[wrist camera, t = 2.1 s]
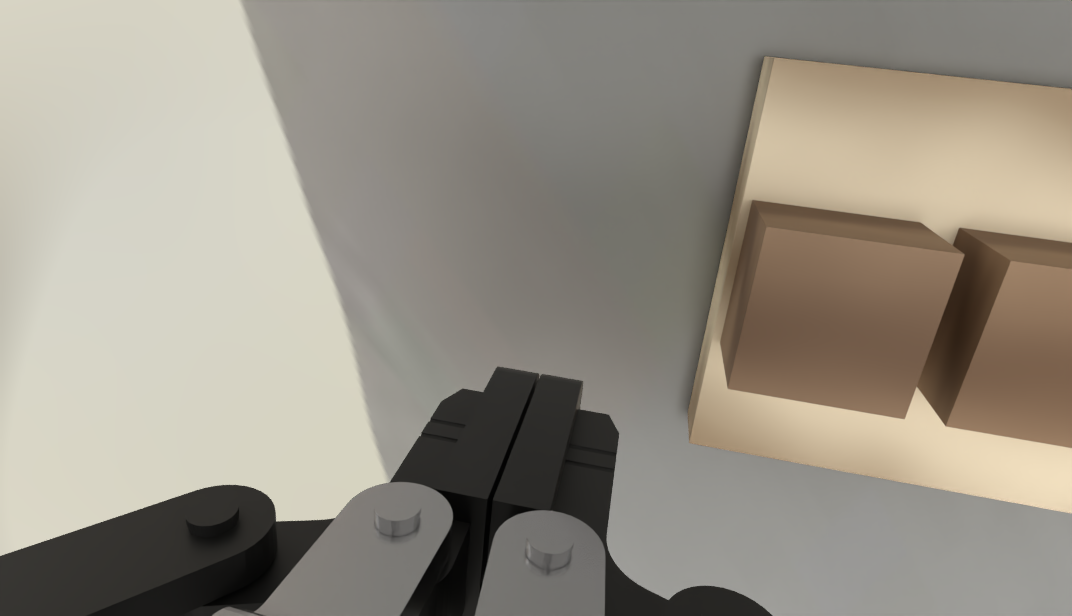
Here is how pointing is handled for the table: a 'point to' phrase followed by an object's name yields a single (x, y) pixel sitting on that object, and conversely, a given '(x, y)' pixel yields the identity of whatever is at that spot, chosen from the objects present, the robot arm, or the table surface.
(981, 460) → the beige square panel
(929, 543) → the table surface
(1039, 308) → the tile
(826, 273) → the brown square block
